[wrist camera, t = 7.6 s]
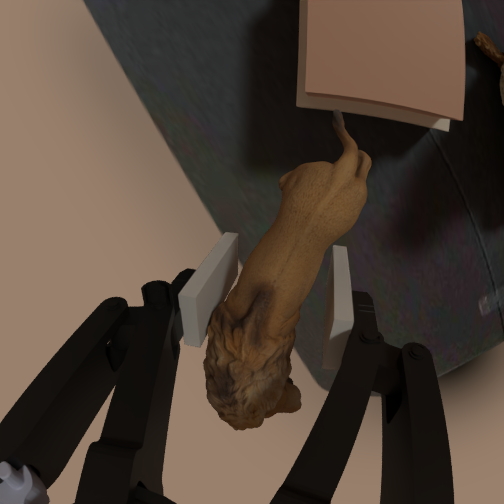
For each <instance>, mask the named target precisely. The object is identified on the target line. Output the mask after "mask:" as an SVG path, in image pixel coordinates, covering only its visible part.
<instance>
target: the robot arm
mask: <svg viewBox="0 0 504 504" xmlns="http://www.w3.org/2000/svg"><path fill="white" fill-rule="evenodd" d="M237 275H238V233H229V232H225V233H224V235H223V236H222V237H221V239H220V240H219V241H218V243H217V244H216V245H215V247H214V248H213V249H212V250H211V252H210V253H209V254H208V256H207V257H206V258H205V260H204V261H203V262H202V263H201V265H200V266H199V268H198V269H197V270H194V269H185V270H184V271H182V272H180V273H179V274H178V275H177V277H176V278H175V279H174V280H173V282H172V284H169V283H168V282H166V281H160V280H157V281H151V282H148V283H146V284H145V285H143V287H142V288H141V290H142V295H143V300H144V306H140V307H128V304H127V301H126V300H125V299H124V298H121V297H112V298H108V299H106V300H104V301H103V302H102V303H101V304H100V305H99V306H98V307H97V308H96V309H95V310H94V312H92V314H91V315H90V316H89V317H88V318H87V319H86V320H85V321H84V322H83V323H82V325H81V326H80V327H79V328H78V329H77V330H76V331H75V332H74V333H73V335H72V336H71V337H70V338H69V339H68V340H67V341H66V342H65V344H64V345H63V346H62V347H61V348H60V349H59V351H58V352H57V353H56V354H55V355H54V356H53V357H52V359H51V360H50V361H49V362H48V363H47V365H46V366H45V367H44V368H43V369H42V371H41V372H40V373H39V374H38V376H37V377H36V378H35V379H34V380H33V382H32V383H31V384H30V385H29V386H28V388H27V389H26V390H25V391H24V393H23V394H22V395H21V397H20V398H19V399H18V400H17V402H16V403H15V404H14V406H13V407H12V408H11V410H10V411H9V412H8V414H7V415H6V416H5V417H4V419H3V420H2V422H1V423H0V504H49V502H50V501H49V497H48V495H47V489H48V488H49V487H50V486H51V485H52V484H53V483H54V482H55V480H56V479H57V478H58V477H59V475H60V474H61V472H62V471H63V469H64V468H65V466H66V464H67V463H68V461H69V459H70V457H71V456H72V454H73V452H74V451H75V449H76V447H77V446H78V444H79V442H80V441H81V439H82V437H83V436H84V434H85V432H86V431H87V429H88V428H89V426H90V424H91V423H92V421H93V420H94V418H95V416H96V415H97V413H98V412H99V410H100V408H101V407H102V405H103V404H104V402H105V400H106V399H107V397H108V395H109V394H110V392H111V391H112V389H113V388H114V386H115V385H116V386H115V389H114V393H113V396H112V399H111V402H110V406H109V409H108V413H107V416H106V419H105V423H104V427H103V430H102V433H101V437H100V439H99V441H97V442H92V443H91V444H90V446H89V449H88V451H87V454H86V458H85V462H84V465H83V470H82V473H81V478H80V482H79V486H78V490H77V494H76V499H75V503H73V504H176V503H175V502H173V501H171V500H170V499H168V498H167V497H165V496H163V485H162V471H163V463H164V454H165V446H166V439H167V431H168V424H169V416H170V409H171V403H172V397H173V390H174V384H175V377H176V371H177V365H178V359H179V354H180V344H179V341H180V340H181V338H182V336H183V337H184V344H186V345H191V346H195V347H201V345H202V343H203V341H204V339H205V337H206V335H207V334H208V332H207V328H208V326H209V325H210V322H211V319H212V316H213V312H214V311H215V310H216V309H217V308H218V306H219V305H220V304H221V303H223V302H224V300H225V299H226V296H227V295H228V293H229V291H230V289H231V287H232V285H233V283H234V281H235V279H236V277H237ZM374 312H375V310H374V305H373V299H372V298H371V297H370V295H369V294H368V293H367V292H359V291H351V282H350V273H349V264H348V256H347V248H346V247H343V246H335V245H333V249H332V255H331V261H330V267H329V273H328V279H327V284H326V302H325V325H324V343H323V358H322V369H331V370H338V373H337V375H336V378H335V380H334V382H333V385H332V387H331V389H330V392H329V394H328V396H327V398H326V401H325V403H324V405H323V407H322V409H321V411H320V413H319V416H318V418H317V420H316V422H315V424H314V426H313V428H312V430H311V432H310V434H309V437H308V438H307V440H306V442H305V444H304V446H303V448H302V450H301V452H300V454H299V456H298V458H297V459H296V461H295V463H294V465H293V467H292V468H291V471H290V472H289V474H288V476H287V477H286V479H285V481H284V483H283V484H282V486H281V487H280V488H279V490H278V491H277V492H276V494H275V496H274V497H273V499H272V500H271V502H270V504H331V499H332V497H333V494H334V492H335V490H336V488H337V485H338V483H339V481H340V478H341V476H342V474H343V471H344V469H345V466H346V464H347V461H348V459H349V456H350V453H351V451H352V448H353V445H354V443H355V440H356V437H357V434H358V432H359V429H360V426H361V423H362V420H363V417H364V414H365V410H366V407H367V404H368V401H369V398H370V394H371V391H375V392H378V393H380V394H381V398H382V436H383V437H382V480H381V497H380V504H454V489H453V476H452V466H451V456H450V448H449V440H448V434H447V427H446V421H445V415H444V409H443V404H442V399H441V394H440V389H439V385H438V380H437V376H436V371H435V367H434V363H433V359H432V355H431V353H430V351H429V350H428V349H427V348H426V347H425V346H423V345H422V344H419V343H415V342H413V343H407V344H405V345H404V346H403V348H402V349H400V348H397V347H394V346H392V345H389V344H387V343H386V342H384V337H383V336H382V334H381V333H380V332H378V328H377V322H376V316H375V313H374ZM109 341H110V342H109ZM108 342H109V343H108ZM107 343H108V344H107Z"/></svg>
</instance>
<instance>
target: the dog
mask: <svg viewBox="0 0 504 504" xmlns="http://www.w3.org/2000/svg"><path fill="white" fill-rule="evenodd" d="M477 34H478V35H477V36H476V38H474V41H475V43H476V45H477V46H479V49H481V50H482V52H483V53H484V54H485V55H487V56H488V57H489V58H491V59H492V60H493V61H495V62H496V63H497V65H498V67H499V68H500V69H501V72H502V74H501V79H500V92H501V97H502V104H503V105H504V53H503V52H502V53H501V52H500V50H498V48H497V47H496V45H495V44H494V43H493V41H492V40H491V39H490V38H489V37H488V36H487V35H485V34H483V33H481V32H478V33H477Z"/></svg>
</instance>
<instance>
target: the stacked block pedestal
mask: <svg viewBox="0 0 504 504" xmlns="http://www.w3.org/2000/svg"><path fill="white" fill-rule="evenodd" d="M464 95H465V37H464V21H463V10H462V1H461V0H300V13H299V51H298V78H297V100H296V106H297V107H300V108H311V109H321V110H330V111H333V110H334V109H338V110H340V111H341V112H346V113H354V114H360V115H367V116H373V117H379V118H385V119H390V120H395V121H401V122H405V123H410V124H415V125H419V126H424V127H428V128H433V129H438V130H443V131H448V132H449V124H450V120H459V121H463V111H464Z"/></svg>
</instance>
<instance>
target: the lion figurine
mask: <svg viewBox="0 0 504 504" xmlns="http://www.w3.org/2000/svg"><path fill="white" fill-rule="evenodd" d="M332 126H333V128H334V130H335V131H336V134H337V136H338V137H339V138H340V140H341V142H342V144H343V147H344V152H343V154H342V156H341V157H340V159H339V160H338V161H336V162H334V163H333V164H331V163H329V162H326V161H320V162H311V163H305V164H302V165H300V166H298V167H297V168H295V169H294V170H293V171H290V172H288V173H286V174H285V175H283V176H282V177H281V178H280V180H279V188H280V189H281V190H282V202H281V206H280V209H279V213H278V216H277V218H276V220H275V222H274V223H273V225H272V226H271V227H270V229H269V230H268V231H267V232H266V233H265V235H264V236H263V237H262V239H261V240H260V242H259V243H258V245H257V246H256V247H255V249H254V250H253V252H252V253H251V254H250V256H249V257H248V259H247V261H246V263H245V265H244V267H243V269H242V271H241V274H240V276H239V279H238V282H237V285H236V286H235V287H234V288H233V289H232V290H231V292H230V293H229V295H228V297H227V299H226V301H225V302H223V303H221V304H220V305H219V306H218V308H217V309H216V310H215V311H214V312H213V316H212V319H211V322H210V325H209V326H208V328H207V332H208V336H209V338H208V345H207V350H206V358H205V359H204V362H203V364H204V370H205V376H206V389H207V399H208V401H209V403H210V404H211V405H212V407H213V408H214V409H215V410H216V411H217V412H218V415H219V417H220V418H221V419H222V420H223V421H225V422H227V423H228V424H229V425H230V426H232V427H233V428H234V429H235V430H238V429H239V430H245V429H246V428H258V427H260V426H261V425H262V423H263V421H264V418H269V417H271V416H273V415H274V414H276V413H283V412H284V413H293V412H296V411H298V410H299V409H300V408H301V401H300V399H301V393H300V390H299V389H298V388H297V386H295V385H293V381H292V379H291V378H289V375H290V373H291V369H292V367H291V363H290V354H291V351H292V349H293V345H294V341H295V337H296V335H295V326H296V324H297V322H298V321H299V318H300V313H299V310H300V308H301V305H302V302H303V301H304V300H305V298H306V297H307V295H308V293H309V292H310V290H311V288H312V286H313V283H314V281H315V279H316V276H317V273H318V271H319V268H320V265H321V262H322V260H323V256H324V252H325V251H326V249H327V248H328V247H329V246H330V245H331V244H332V243H333V242H334V241H336V240H337V239H338V238H339V237H341V236H342V235H343V234H344V233H346V232H347V231H348V230H350V229H351V228H352V227H353V225H354V224H355V222H356V220H357V218H358V216H359V214H360V212H361V209H362V208H363V206H364V205H365V202H366V199H367V189H366V178H367V175H368V171H369V169H370V168H371V158H370V157H369V156H368V155H367V154H366V153H365V152H363V151H362V150H358V148H357V145H356V143H355V141H354V140H353V139H352V138H351V137H350V136H349V134H348V133H347V131H346V129H345V127H344V120H343V115H342V113H341V111H340V110H338V109H334V110H333V118H332Z"/></svg>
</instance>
